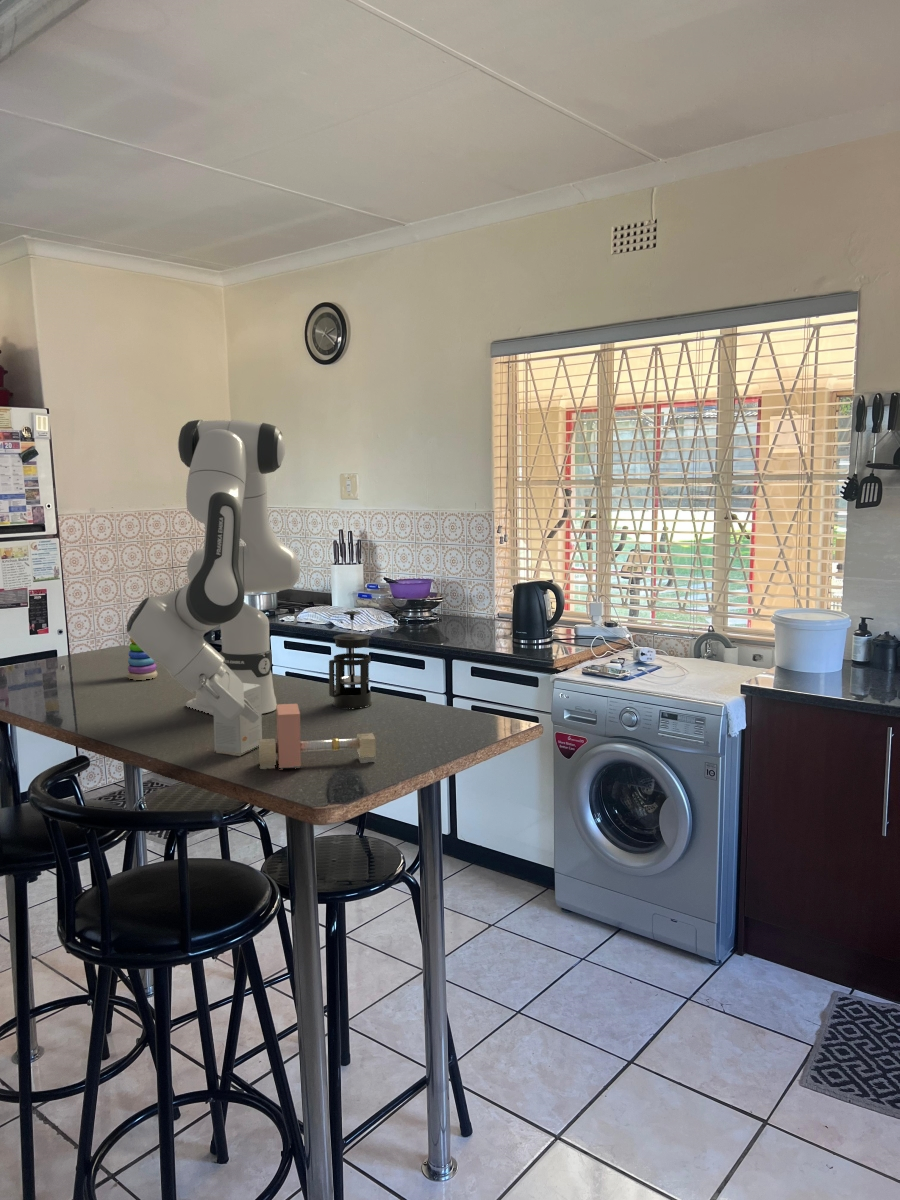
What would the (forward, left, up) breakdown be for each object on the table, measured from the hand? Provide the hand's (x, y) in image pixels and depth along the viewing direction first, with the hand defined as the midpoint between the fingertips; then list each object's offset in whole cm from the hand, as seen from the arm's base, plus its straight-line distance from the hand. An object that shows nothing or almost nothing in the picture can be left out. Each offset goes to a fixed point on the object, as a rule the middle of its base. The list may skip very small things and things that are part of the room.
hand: (256, 718), depth 170 cm
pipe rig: (+8, +8, -9) cm, 15 cm away
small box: (-11, +6, -10) cm, 16 cm away
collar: (+4, +4, -9) cm, 11 cm away
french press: (-15, +48, -10) cm, 51 cm away
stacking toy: (-81, +40, -10) cm, 91 cm away
